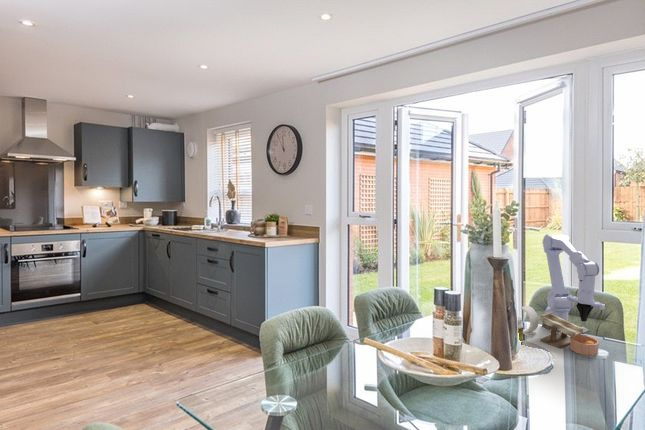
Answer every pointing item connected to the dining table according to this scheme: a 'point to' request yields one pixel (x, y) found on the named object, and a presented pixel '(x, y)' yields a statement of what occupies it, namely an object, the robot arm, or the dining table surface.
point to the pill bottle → (520, 329)
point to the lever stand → (556, 338)
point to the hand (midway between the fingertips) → (583, 320)
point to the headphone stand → (531, 320)
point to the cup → (584, 345)
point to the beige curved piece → (562, 325)
